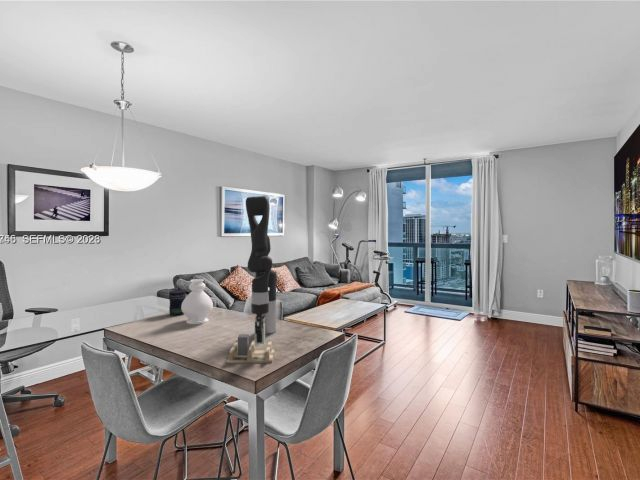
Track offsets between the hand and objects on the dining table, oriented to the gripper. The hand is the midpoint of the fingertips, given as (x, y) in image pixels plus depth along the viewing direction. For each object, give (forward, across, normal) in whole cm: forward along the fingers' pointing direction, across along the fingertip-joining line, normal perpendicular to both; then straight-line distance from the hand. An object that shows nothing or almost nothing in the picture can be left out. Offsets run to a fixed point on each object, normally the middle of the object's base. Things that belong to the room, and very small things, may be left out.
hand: (260, 340), depth 147 cm
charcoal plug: (+6, 0, -7) cm, 9 cm away
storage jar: (+7, -73, -63) cm, 97 cm away
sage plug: (+1, 0, 0) cm, 1 cm away
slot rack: (+7, 0, -4) cm, 8 cm away
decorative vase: (+7, -56, -45) cm, 72 cm away
